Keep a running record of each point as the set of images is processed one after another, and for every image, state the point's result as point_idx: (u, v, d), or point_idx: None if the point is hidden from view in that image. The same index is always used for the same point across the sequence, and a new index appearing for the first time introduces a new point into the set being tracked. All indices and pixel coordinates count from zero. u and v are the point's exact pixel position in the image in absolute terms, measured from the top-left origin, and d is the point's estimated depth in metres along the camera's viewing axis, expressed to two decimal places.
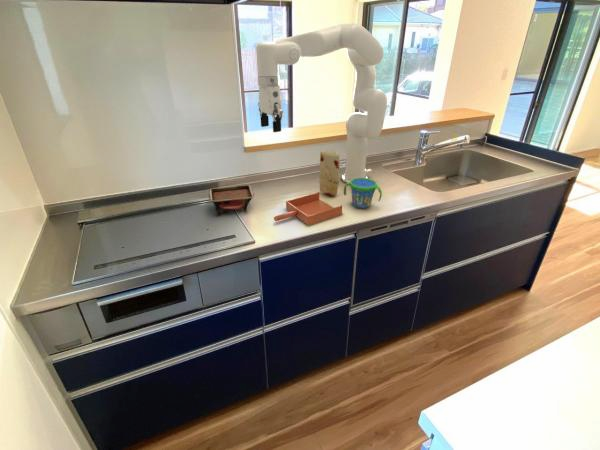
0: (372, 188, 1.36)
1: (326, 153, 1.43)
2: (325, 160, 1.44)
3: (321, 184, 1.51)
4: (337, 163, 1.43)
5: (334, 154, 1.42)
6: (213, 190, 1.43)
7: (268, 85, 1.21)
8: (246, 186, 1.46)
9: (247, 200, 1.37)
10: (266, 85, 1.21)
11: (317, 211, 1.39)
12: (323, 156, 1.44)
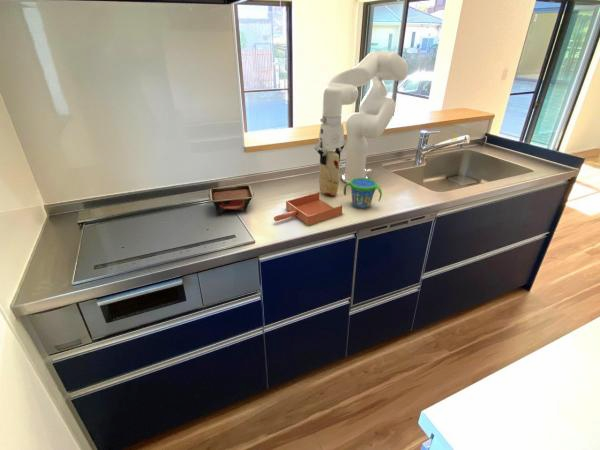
0: (372, 188, 1.36)
1: (326, 153, 1.43)
2: None
3: (321, 184, 1.51)
4: (337, 163, 1.43)
5: (334, 154, 1.42)
6: (213, 190, 1.43)
7: (322, 122, 1.38)
8: (246, 186, 1.46)
9: (247, 200, 1.37)
10: (322, 122, 1.39)
11: (317, 211, 1.39)
12: None
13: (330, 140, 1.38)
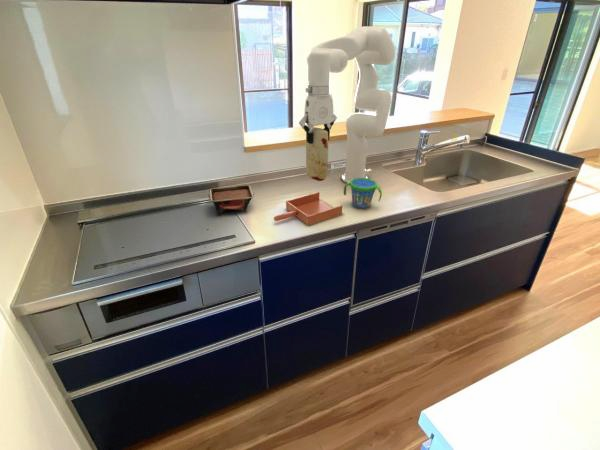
0: (372, 188, 1.36)
1: (313, 130, 1.24)
2: None
3: (308, 167, 1.32)
4: (325, 141, 1.24)
5: (322, 131, 1.23)
6: (213, 190, 1.43)
7: (308, 93, 1.19)
8: (246, 186, 1.46)
9: (247, 200, 1.37)
10: (308, 93, 1.20)
11: (317, 211, 1.39)
12: None
13: (317, 114, 1.19)
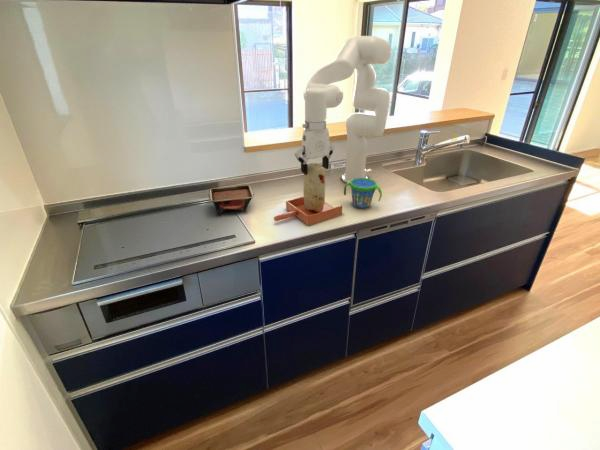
0: (372, 188, 1.36)
1: (310, 166, 1.29)
2: (309, 174, 1.30)
3: (305, 200, 1.37)
4: (322, 177, 1.29)
5: (319, 167, 1.27)
6: (213, 190, 1.43)
7: (305, 128, 1.23)
8: (246, 186, 1.46)
9: (247, 200, 1.37)
10: (305, 127, 1.23)
11: None
12: None
13: (314, 148, 1.23)
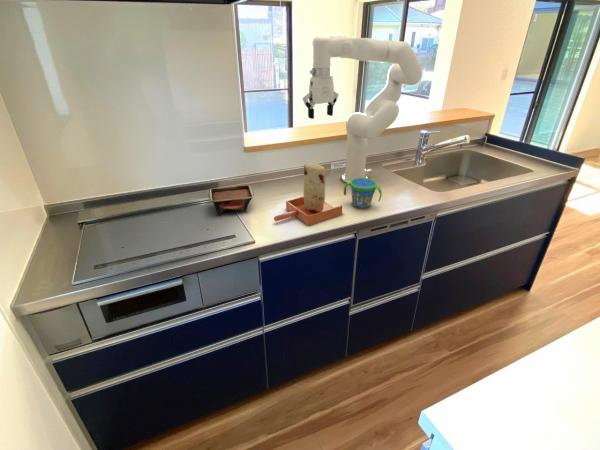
0: (372, 188, 1.36)
1: (310, 166, 1.29)
2: (309, 174, 1.30)
3: (305, 200, 1.37)
4: (322, 177, 1.29)
5: (319, 167, 1.27)
6: (213, 190, 1.43)
7: (312, 75, 1.37)
8: (246, 186, 1.46)
9: (247, 200, 1.37)
10: (312, 75, 1.37)
11: None
12: (307, 169, 1.30)
13: (320, 93, 1.37)
